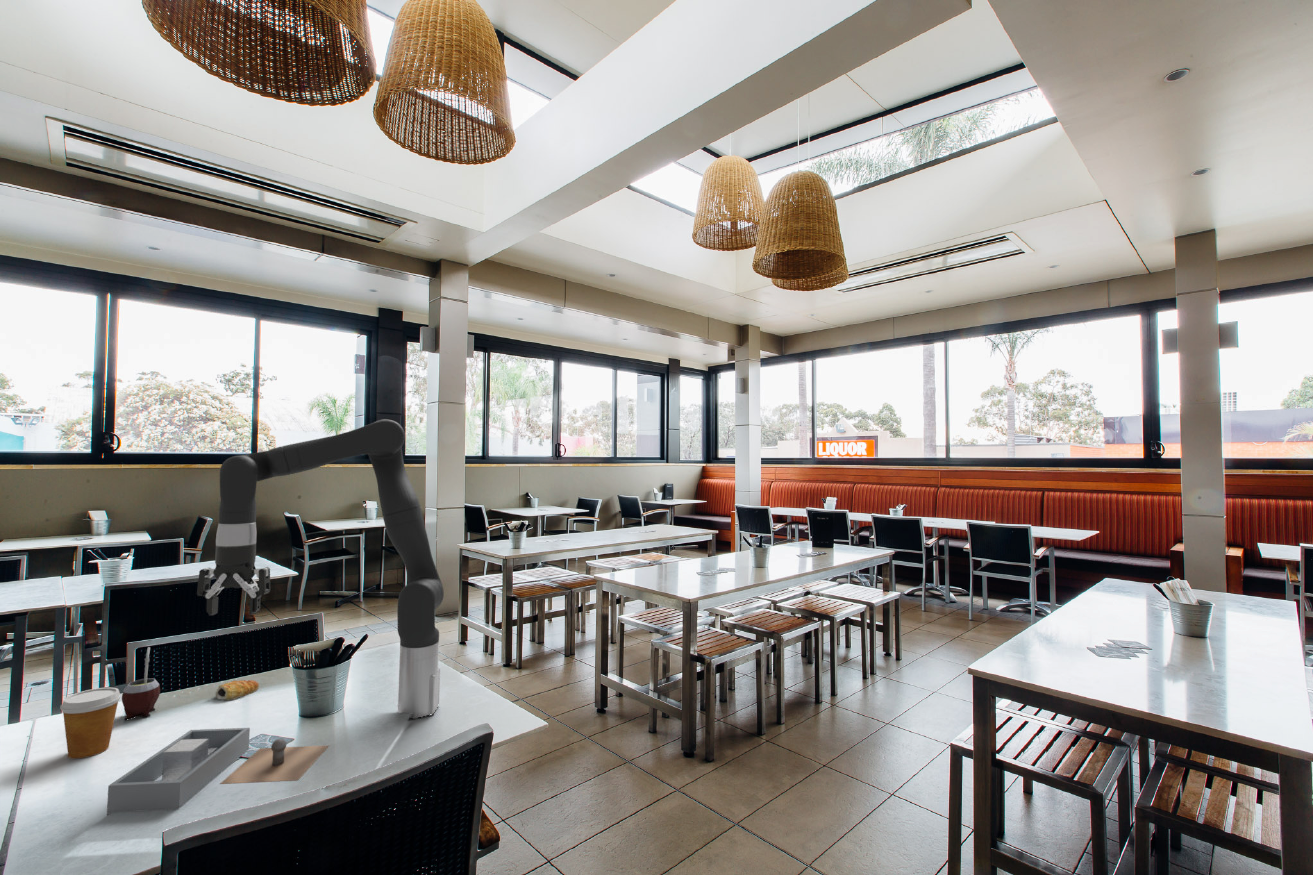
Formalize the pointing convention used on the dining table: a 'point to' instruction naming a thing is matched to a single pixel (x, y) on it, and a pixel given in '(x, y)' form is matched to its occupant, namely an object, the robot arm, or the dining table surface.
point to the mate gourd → (141, 695)
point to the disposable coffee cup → (89, 721)
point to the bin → (148, 794)
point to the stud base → (276, 772)
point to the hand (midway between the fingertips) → (233, 614)
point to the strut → (184, 758)
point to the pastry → (236, 689)
